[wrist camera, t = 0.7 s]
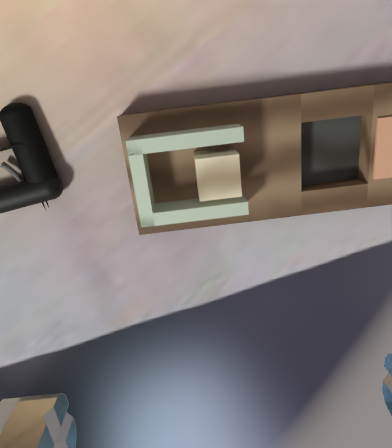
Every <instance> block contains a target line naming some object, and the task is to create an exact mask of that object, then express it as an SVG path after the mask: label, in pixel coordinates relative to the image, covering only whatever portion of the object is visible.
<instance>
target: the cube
mask: <svg viewBox="0 0 392 448" xmlns="http://www.w3.org/2000/svg"><path fill="white" fill-rule="evenodd" d="M193 153H194V161H195V170H196V179H197V187H198V194H199V200H200V202H201V201H209V200H218V199H226V198H234V197H242V188H241V174H240V159H239V153H238V152H237V151H236V150H235V149H234V148H233V147H229V148H221V149H213V150H204V151H196V152H193Z"/></svg>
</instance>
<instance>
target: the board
mask: <svg viewBox="0 0 392 448" xmlns="http://www.w3.org/2000/svg"><path fill="white" fill-rule="evenodd" d="M390 116H392V82H384V83H376V84H367V85H359V86H351V87H343V88H335V89H326V90H318V91H310V92H302V93H294V94H286V95H277V96H269V97H261V98H253V99H245V100H236V101H228V102H220V103H212V104H204V105H196V106H187V107H179V108H171V109H163V110H155V111H147V112H138V113H130V114H122V115H119V116H117V119H118V124H119V129H120V135H121V140H122V145H123V151H124V156H125V161H126V166H127V172H128V177H129V182H130V188H131V193H132V198H133V204H134V209H135V214H136V220H137V225H138V230H139V235H142V234H151V233H159V232H167V231H175V230H184V229H192V228H200V227H208V226H217V225H225V224H233V223H242V222H250V221H258V220H266V219H275V218H283V217H291V216H299V215H308V214H316V213H324V212H332V211H341V210H349V209H357V208H365V207H374V206H382V205H390V204H392V178H384V179H376V180H373V166H374V153H375V139H376V125H377V118H382V117H390ZM237 123H238V124H240V125H241V126H243V130H244V142H238V143H230V144H222V145H214V146H205V147H197V148H189V149H181V150H172V151H164V152H156V153H148V154H147V159H148V165H149V171H150V177H151V183H152V189H153V195H154V201H155V203H163V202H171V201H179V200H188V199H196V198H199V194H198V187H197V179H196V170H195V161H194V153H193V152H196V151H204V150H213V149H221V148H229V147H233V148H234V149H235V150H236V151H237V152H238V153H239V159H240V174H241V188H242V193H243V194H244V196H245V198H246V199H247V201H248V210H249V215H241V216H233V217H225V218H217V219H208V220H200V221H192V222H184V223H175V224H167V225H159V226H151V227H142V228H141V223H140V217H139V212H138V207H137V201H136V196H135V190H134V185H133V179H132V174H131V169H130V163H129V158H128V152H127V147H126V140H127V139H128V138H129V137H131V136H139V135H147V134H155V133H164V132H172V131H180V130H188V129H196V128H205V127H213V126H221V125H229V124H237Z"/></svg>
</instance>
